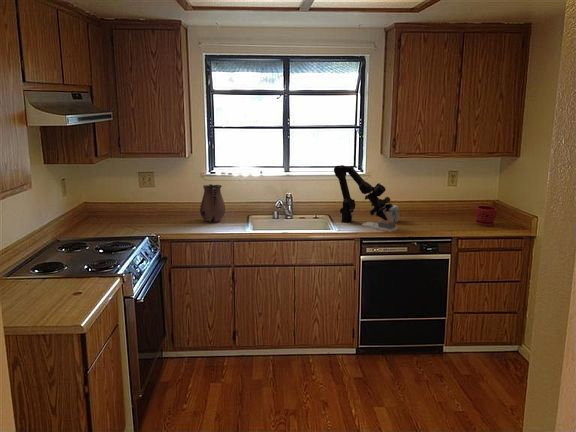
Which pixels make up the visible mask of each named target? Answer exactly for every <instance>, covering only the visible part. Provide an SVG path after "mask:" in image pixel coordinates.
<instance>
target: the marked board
mask: <svg viewBox="0 0 576 432" xmlns="http://www.w3.org/2000/svg"><path fill="white" fill-rule="evenodd" d="M361 226H362V227H364V228H369V229H373V228H374V229H373V230H378V229H379V231H382V232H383V231H385V232H387V233H388V232H389V233H392V232H394V231H398V227H397V226H395V228H392V229H387V228H382V227H378V223H377V222H372V221H367V222H365V223H361Z"/></svg>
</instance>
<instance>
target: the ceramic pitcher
mask: <svg viewBox="0 0 576 432" xmlns="http://www.w3.org/2000/svg"><path fill="white" fill-rule="evenodd" d="M222 186H223V185H221V184H214V185H213V184H212V183H211V184H206V185H205V184H204V185H203V186H202V188H203V196H202V199H201V202H200V207H199V214H200V216H201V217H202V219H203V220H204V221H205V222H208V221H209V223H215V222H217V223H218V222H220V221H221V220H222V219H223V218H224V216H225V214H226V207H225V201H224V199H223V194H222V191H221V188H222Z"/></svg>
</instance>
